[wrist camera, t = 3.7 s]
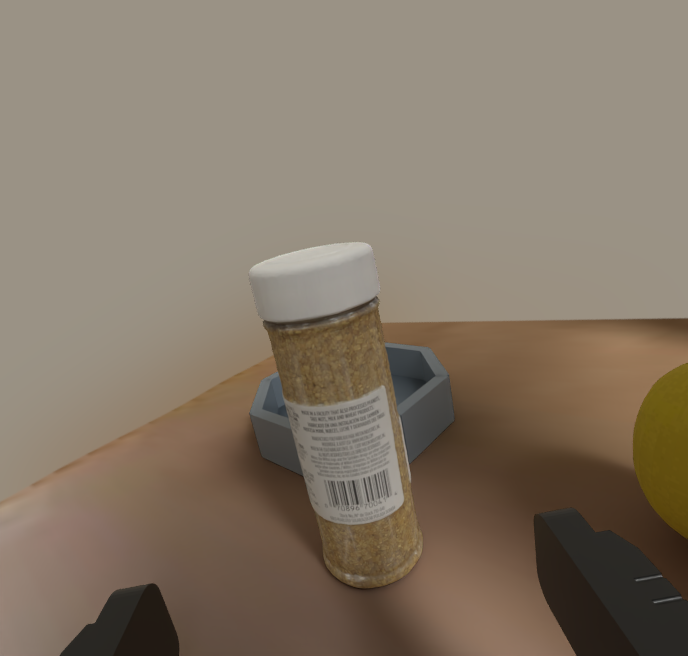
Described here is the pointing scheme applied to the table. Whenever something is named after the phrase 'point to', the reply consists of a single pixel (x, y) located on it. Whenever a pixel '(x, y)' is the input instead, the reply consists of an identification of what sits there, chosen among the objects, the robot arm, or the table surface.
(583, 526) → the robot arm
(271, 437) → the bowl
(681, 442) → the lemon
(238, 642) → the table surface
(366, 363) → the spice jar
